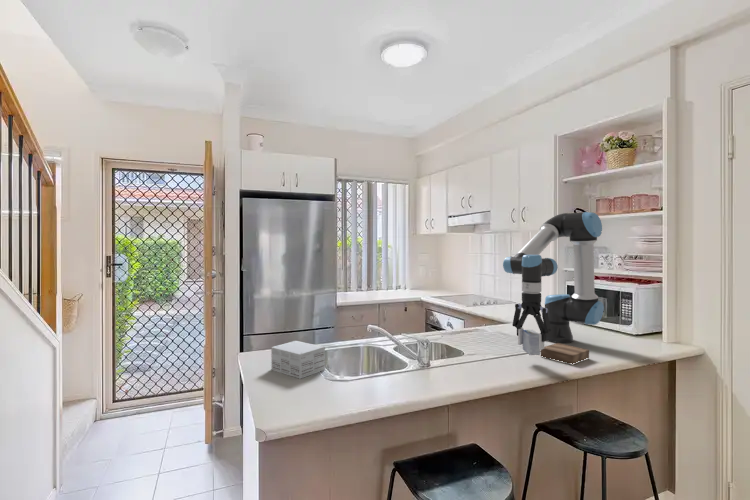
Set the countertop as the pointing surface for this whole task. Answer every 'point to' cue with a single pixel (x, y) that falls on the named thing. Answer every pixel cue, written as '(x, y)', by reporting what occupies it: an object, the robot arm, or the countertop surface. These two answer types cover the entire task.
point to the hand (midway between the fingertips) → (530, 346)
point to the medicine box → (531, 342)
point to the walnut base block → (565, 353)
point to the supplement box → (298, 359)
